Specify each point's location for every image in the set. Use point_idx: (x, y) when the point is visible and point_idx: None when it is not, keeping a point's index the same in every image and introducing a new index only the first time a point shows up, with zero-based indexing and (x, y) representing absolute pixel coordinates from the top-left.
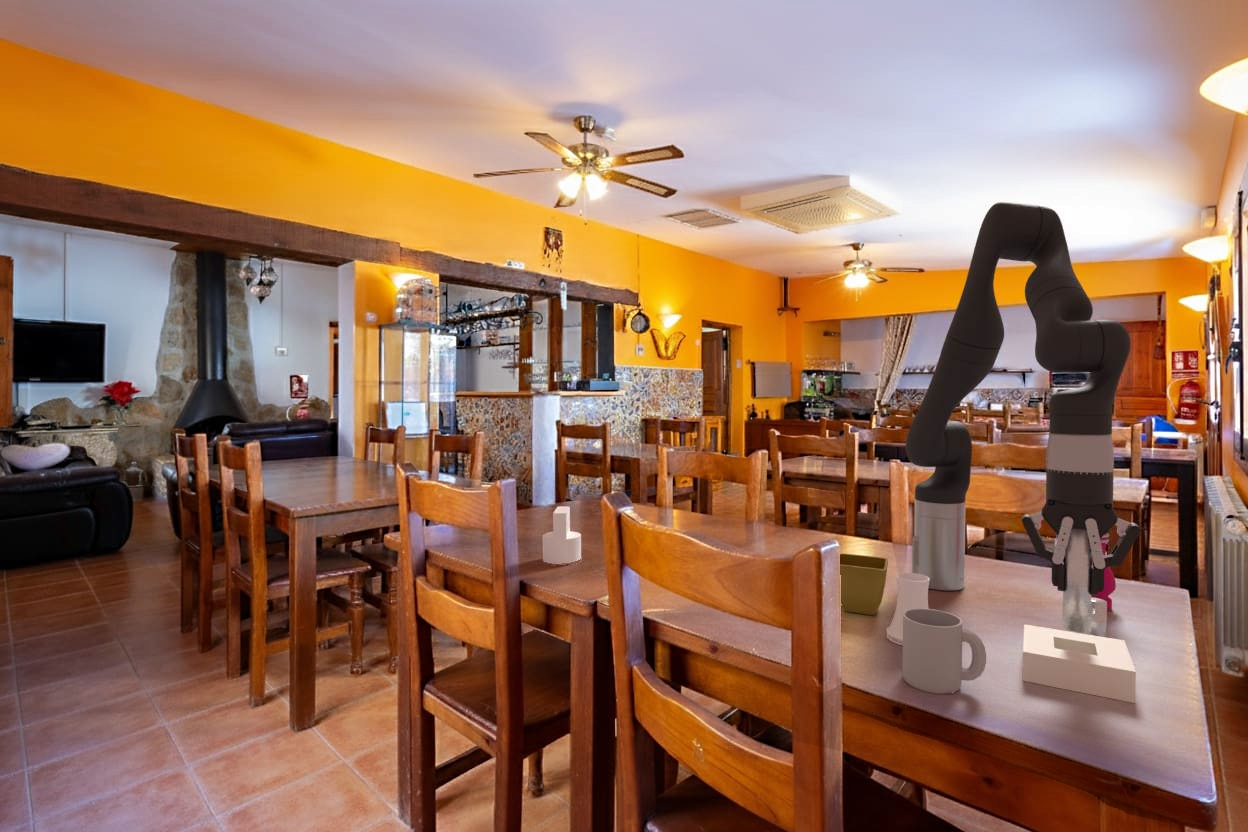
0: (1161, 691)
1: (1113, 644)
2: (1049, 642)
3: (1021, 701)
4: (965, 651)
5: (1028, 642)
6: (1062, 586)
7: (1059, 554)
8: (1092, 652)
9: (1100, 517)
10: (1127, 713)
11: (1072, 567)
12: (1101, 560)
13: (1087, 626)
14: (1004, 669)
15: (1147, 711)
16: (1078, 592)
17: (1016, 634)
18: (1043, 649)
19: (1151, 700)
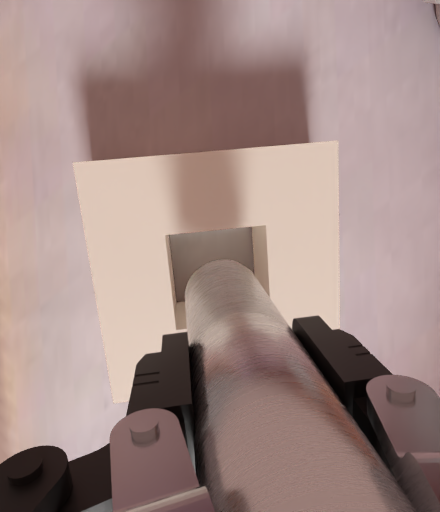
0: (49, 275)
1: (134, 353)
2: (278, 263)
3: (306, 8)
4: (428, 253)
5: (327, 229)
6: (305, 321)
7: (415, 420)
8: (180, 319)
9: None
10: (102, 89)
11: (299, 367)
12: (130, 452)
13: (193, 278)
14: (347, 193)
15: (67, 131)
16: (237, 308)
17: None
18: (290, 194)
19: (64, 205)
